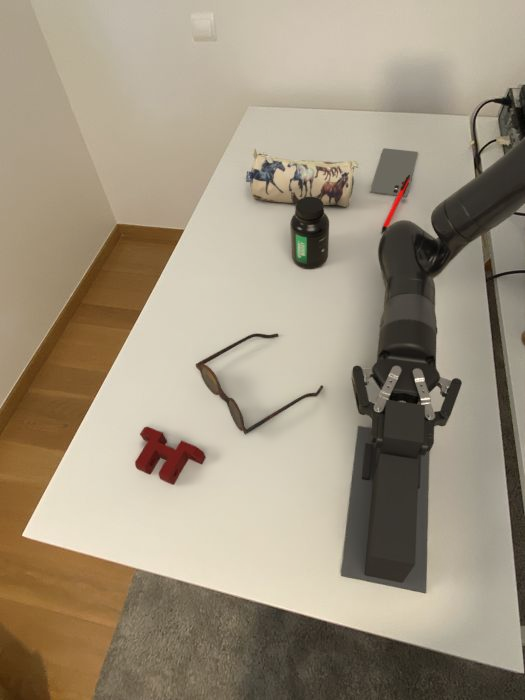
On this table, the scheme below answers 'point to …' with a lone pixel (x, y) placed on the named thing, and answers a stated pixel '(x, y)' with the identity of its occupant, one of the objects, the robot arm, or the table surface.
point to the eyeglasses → (234, 410)
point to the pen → (395, 204)
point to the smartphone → (393, 171)
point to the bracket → (166, 455)
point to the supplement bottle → (309, 233)
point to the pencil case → (301, 180)
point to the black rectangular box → (402, 429)
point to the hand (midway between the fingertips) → (400, 448)
